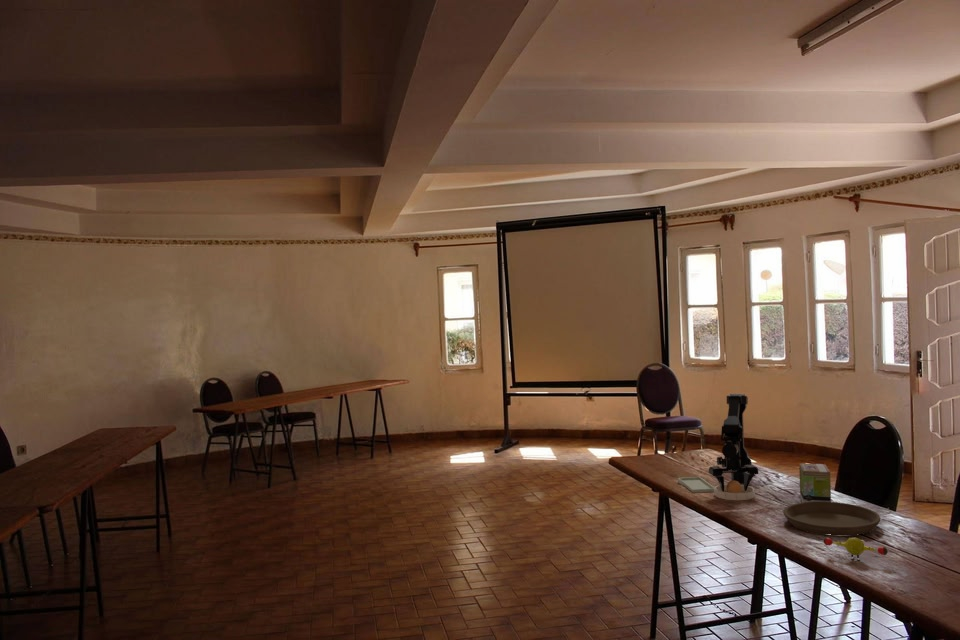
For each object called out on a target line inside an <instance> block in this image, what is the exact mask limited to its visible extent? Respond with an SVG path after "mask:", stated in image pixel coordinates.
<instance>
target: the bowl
mask: <svg viewBox="0 0 960 640" xmlns="http://www.w3.org/2000/svg"><path fill="white" fill-rule="evenodd" d="M727 484H728V483H724V492H723V491H722V489H721V487H720V484H718V485H715V486H713V487H714V492H713V496H714V497H716V498H719V499H723V500H726V501H727V500H728V501H747V500H752V499H754V498H755V496H756V488H754V487H753V486H750V485H748V488H747V490H746V491H745V490H744V484H741V486H742V490H741V492H740V493H730V492H728V491H727V488H726V486H727Z"/></svg>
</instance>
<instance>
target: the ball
mask: <svg viewBox="0 0 960 640" xmlns="http://www.w3.org/2000/svg"><path fill="white" fill-rule="evenodd" d="M726 484H727V486H726V488H727V491H728V492H730V493H740V492H741V490H742V486H741V485H742V483H739V482H738V481H735V480H732V479H731V480H730V481H728V482H727V483H726Z"/></svg>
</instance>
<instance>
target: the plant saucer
mask: <svg viewBox="0 0 960 640" xmlns="http://www.w3.org/2000/svg"><path fill="white" fill-rule="evenodd" d="M782 513H783V515H784V517H785V519H786V520H787V521H788V522H790V524H791V525H792V526H793V527H794V528H796V529H798V528H799V530H801V531H803V530H804V532H807V531H808V532H807V533H810V532H812V534H815V533H817V534H816V535H821V534H831V535H857V534H863V533H867V532H869V533H871V532H872V531H873V530H874V529H875V528H876V527H877V526H878V525H879V524H880V522H881V516H880V515H879V513H877V512H876V511H875V510H872V509H869V508H866V507H863V506H860V505H857V504H856V505H855V504H850V503H845V502H838V501H837V502H835V501H831V502H803V503H802V502H797V503H794V504H790V505H788V506H786V507H784V509H783V510H782ZM870 531H871V532H870ZM867 534H868V533H867ZM863 535H864V534H863Z"/></svg>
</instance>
